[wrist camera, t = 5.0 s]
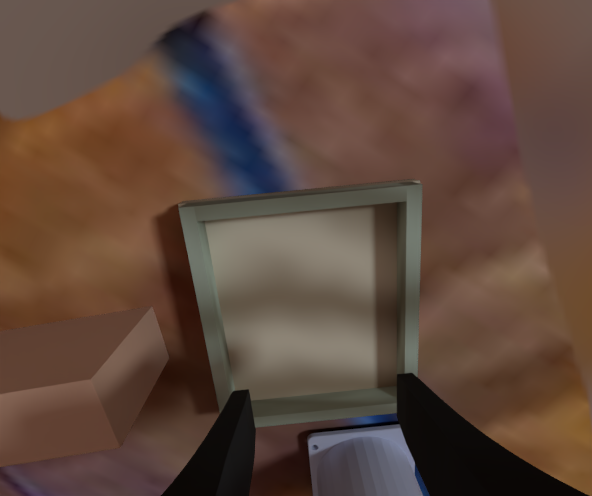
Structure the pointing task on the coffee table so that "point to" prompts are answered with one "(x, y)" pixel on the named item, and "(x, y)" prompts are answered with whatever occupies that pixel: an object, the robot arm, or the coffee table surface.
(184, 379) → the coffee table surface
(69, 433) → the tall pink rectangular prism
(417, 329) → the shallow square tray
